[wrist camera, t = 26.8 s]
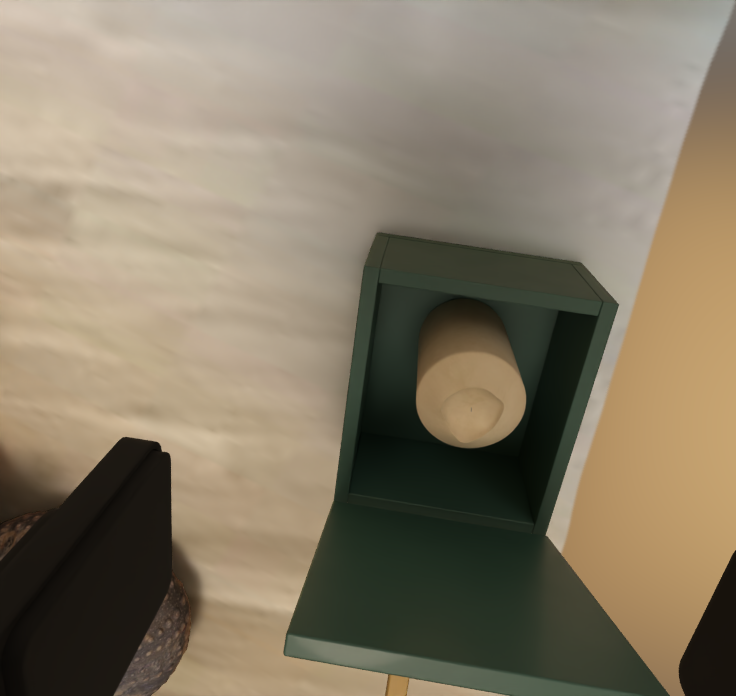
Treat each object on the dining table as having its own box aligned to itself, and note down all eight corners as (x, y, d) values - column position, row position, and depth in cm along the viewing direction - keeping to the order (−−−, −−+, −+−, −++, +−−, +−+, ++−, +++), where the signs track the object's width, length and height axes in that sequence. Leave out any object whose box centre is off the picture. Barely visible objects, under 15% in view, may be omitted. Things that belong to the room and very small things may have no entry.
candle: (484, 388, 39) (500, 479, 30) (406, 359, 39) (398, 442, 29) (520, 315, 37) (551, 389, 27) (438, 284, 36) (441, 348, 27)
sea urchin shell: (119, 462, 44) (58, 577, 36) (244, 603, 53) (220, 721, 45) (-70, 529, 48) (-163, 646, 40) (77, 649, 57) (26, 765, 49)
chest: (376, 231, 36) (363, 265, 29) (581, 262, 36) (619, 304, 29) (349, 433, 42) (333, 501, 35) (525, 461, 42) (545, 537, 35)
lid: (286, 632, 19) (263, 780, 19) (675, 701, 19) (649, 852, 19) (333, 500, 35) (320, 583, 35) (547, 535, 34) (533, 619, 34)
